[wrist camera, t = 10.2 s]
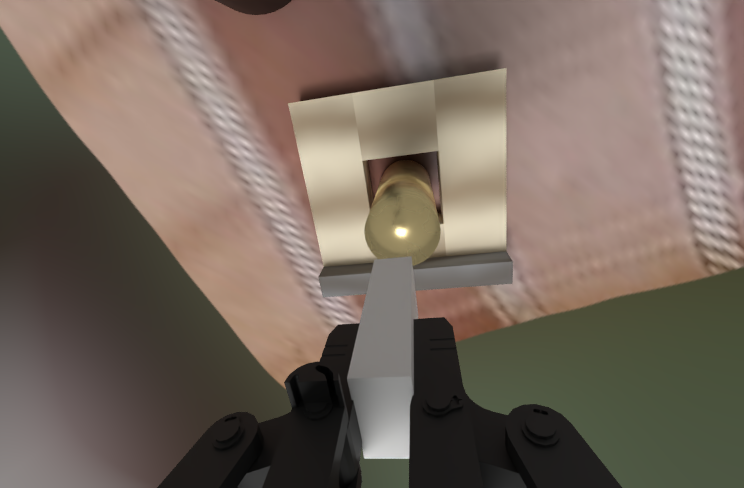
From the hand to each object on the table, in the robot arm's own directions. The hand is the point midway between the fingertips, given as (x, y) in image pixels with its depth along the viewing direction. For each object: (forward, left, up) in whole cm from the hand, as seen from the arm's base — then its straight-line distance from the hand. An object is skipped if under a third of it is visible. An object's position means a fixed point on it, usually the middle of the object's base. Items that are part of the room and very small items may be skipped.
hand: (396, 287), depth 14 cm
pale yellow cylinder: (0, 0, -18) cm, 18 cm away
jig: (0, 0, -18) cm, 18 cm away
